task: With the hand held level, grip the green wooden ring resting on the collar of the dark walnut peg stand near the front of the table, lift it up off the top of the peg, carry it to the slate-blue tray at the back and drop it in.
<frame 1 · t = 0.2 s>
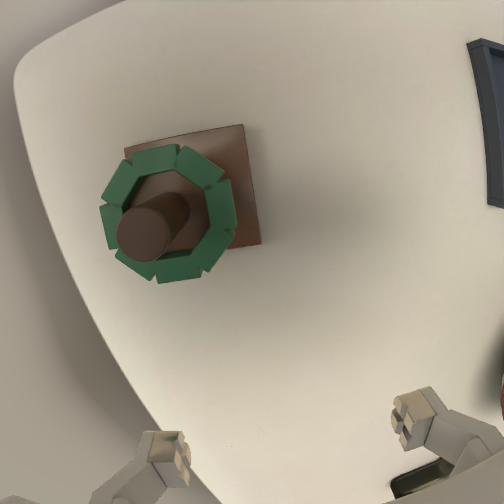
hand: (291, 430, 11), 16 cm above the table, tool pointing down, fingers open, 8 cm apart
ring: (169, 212, 16), point 9 cm above the table, touching peg stand
peg stand: (193, 193, 24), on the table
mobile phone: (429, 464, 37), on the table
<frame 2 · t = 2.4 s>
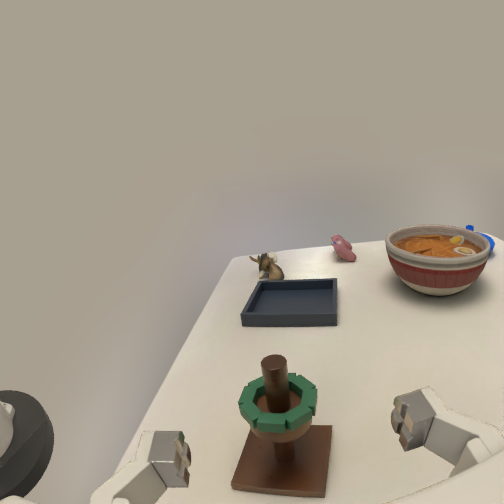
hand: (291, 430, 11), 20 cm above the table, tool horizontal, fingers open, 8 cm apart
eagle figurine: (268, 277, 77), on the table
ring: (279, 405, 25), point 9 cm above the table, touching peg stand
peg stand: (285, 461, 28), on the table
video game controller: (343, 257, 83), on the table
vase: (468, 252, 73), on the table
tray: (293, 306, 61), on the table
bowl: (435, 285, 60), on the table
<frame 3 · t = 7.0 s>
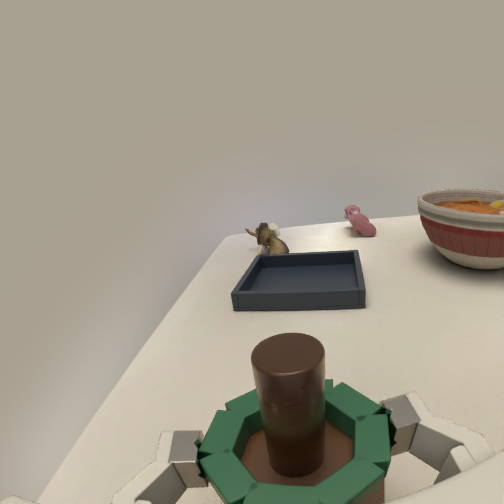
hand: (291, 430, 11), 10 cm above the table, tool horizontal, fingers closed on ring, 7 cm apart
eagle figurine: (269, 254, 62), on the table
ring: (297, 456, 10), point 9 cm above the table, touching gripper, peg stand
video game controller: (359, 232, 68), on the table
tray: (303, 285, 46), on the table
bowl: (478, 259, 44), on the table
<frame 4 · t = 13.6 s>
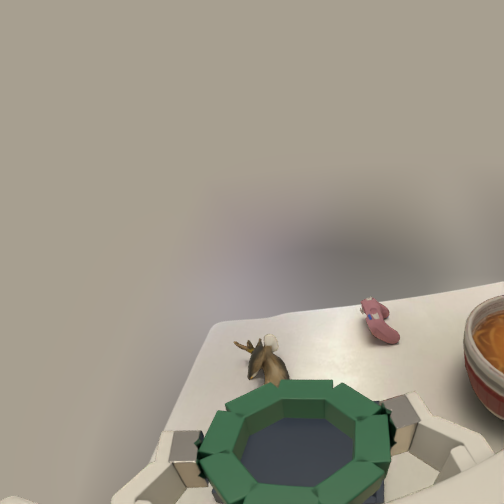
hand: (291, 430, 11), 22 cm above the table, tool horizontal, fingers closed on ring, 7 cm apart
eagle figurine: (264, 377, 46), on the table
ring: (297, 456, 10), point 21 cm above the table, touching gripper
video game controller: (378, 332, 52), on the table
tray: (306, 459, 30), on the table
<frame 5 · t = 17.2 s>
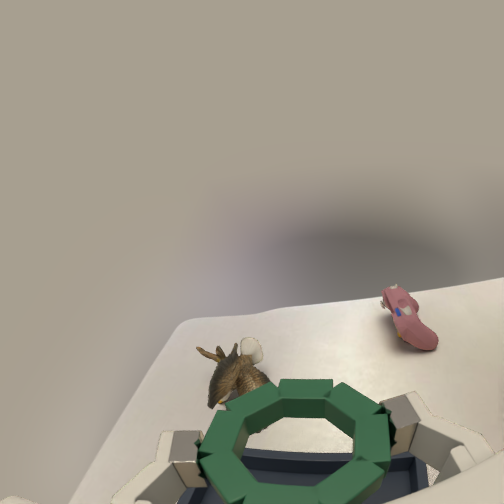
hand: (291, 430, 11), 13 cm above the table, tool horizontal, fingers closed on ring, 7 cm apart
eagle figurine: (240, 402, 30), on the table
ring: (297, 456, 10), point 12 cm above the table, touching gripper
video game controller: (405, 334, 36), on the table
when the fingers open (4 cm above the table, at t = 20.4 s): ring drops 3 cm, resting on tray.
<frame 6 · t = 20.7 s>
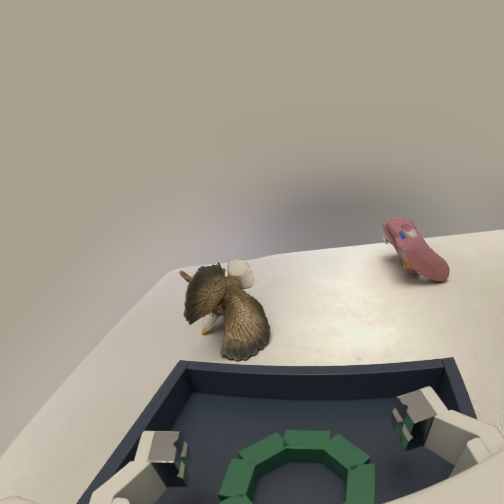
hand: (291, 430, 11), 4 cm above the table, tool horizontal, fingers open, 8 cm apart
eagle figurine: (227, 332, 27), on the table
ring: (299, 495, 11), resting on tray
video game controller: (412, 270, 33), on the table
tray: (296, 498, 11), on the table
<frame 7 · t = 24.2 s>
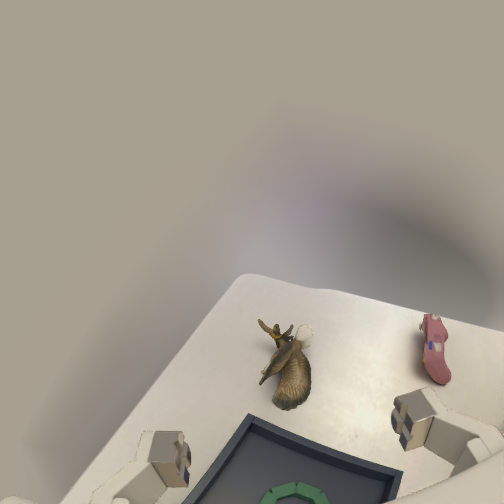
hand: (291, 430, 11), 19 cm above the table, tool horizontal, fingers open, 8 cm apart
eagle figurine: (279, 376, 35), on the table
video game controller: (427, 359, 38), on the table
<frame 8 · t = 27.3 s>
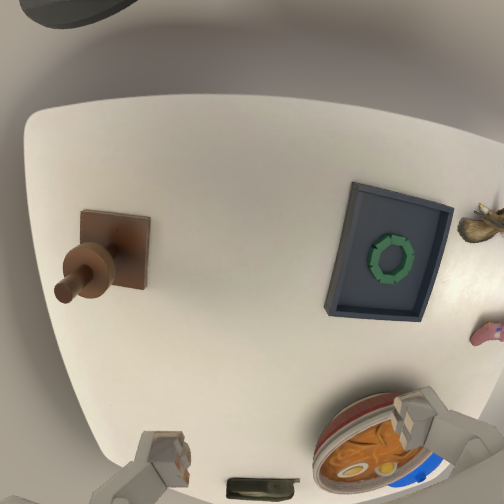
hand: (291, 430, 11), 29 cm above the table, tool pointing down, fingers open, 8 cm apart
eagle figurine: (478, 217, 39), on the table
ring: (389, 257, 39), resting on tray
peg stand: (114, 248, 38), on the table
video game controller: (489, 325, 45), on the table
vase: (411, 457, 55), on the table
tray: (388, 255, 40), on the table
bowl: (365, 418, 49), on the table
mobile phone: (263, 480, 54), on the table
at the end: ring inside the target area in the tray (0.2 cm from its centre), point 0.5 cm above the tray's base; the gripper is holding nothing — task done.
